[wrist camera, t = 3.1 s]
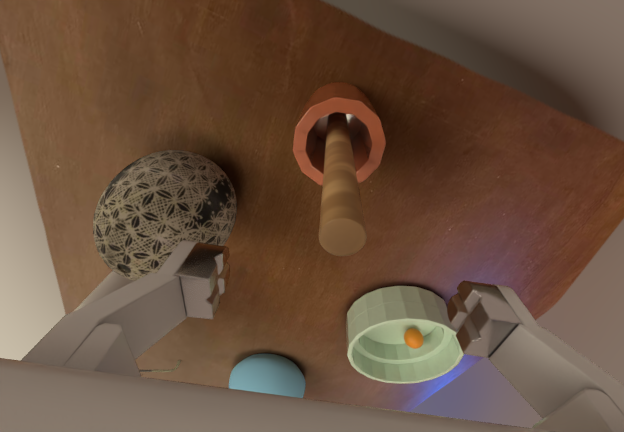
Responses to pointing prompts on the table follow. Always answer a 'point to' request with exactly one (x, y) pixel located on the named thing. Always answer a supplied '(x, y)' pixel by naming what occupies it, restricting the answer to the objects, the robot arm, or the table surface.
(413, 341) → the bead
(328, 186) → the stirring stick
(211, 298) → the robot arm
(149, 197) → the decorative egg
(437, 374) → the bowl
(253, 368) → the sugar bowl
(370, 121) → the utensil pot
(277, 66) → the table surface
